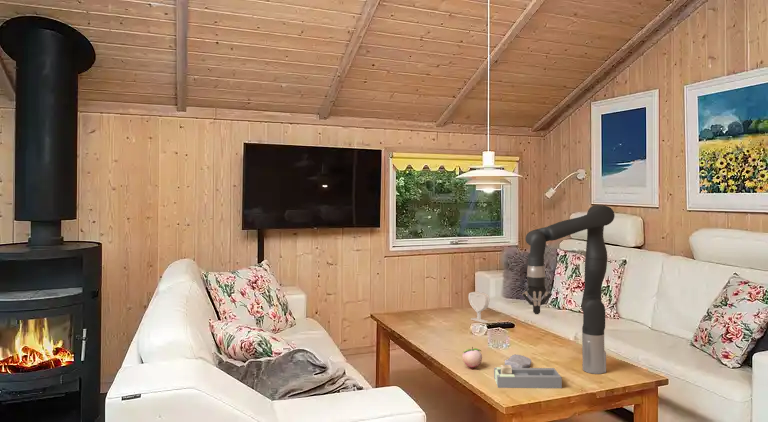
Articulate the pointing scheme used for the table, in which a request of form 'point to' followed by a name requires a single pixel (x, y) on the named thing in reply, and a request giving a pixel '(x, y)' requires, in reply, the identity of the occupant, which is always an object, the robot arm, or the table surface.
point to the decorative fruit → (472, 357)
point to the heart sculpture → (478, 304)
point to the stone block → (518, 361)
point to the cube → (506, 369)
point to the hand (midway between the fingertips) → (536, 313)
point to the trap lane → (528, 378)
